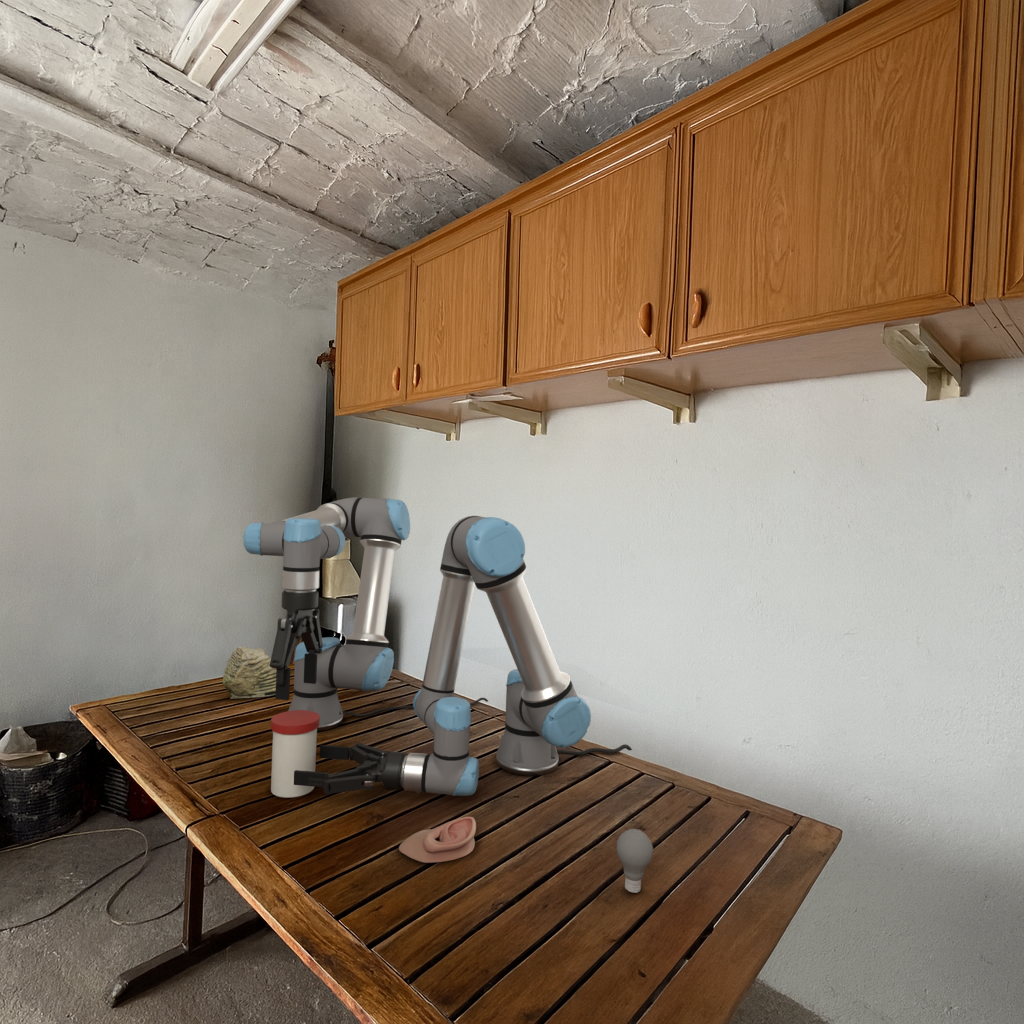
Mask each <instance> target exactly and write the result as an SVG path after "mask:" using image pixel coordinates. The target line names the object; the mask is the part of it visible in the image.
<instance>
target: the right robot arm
mask: <svg viewBox="0 0 1024 1024" xmlns="http://www.w3.org/2000/svg"><path fill="white" fill-rule="evenodd" d="M525 555H526V543H525V540H524V537H523V535H522V533H521V531H520V530H519V529H518V528H517V526H515V525H514V524H513V523H511V522H509V521H507V520H505V519H502V518H500V517H496V516H487V517H486V516H479V515H469V516H465V517H463V518H460V519H458V521H457V522H455V523H454V524H453V525H452V527H451V529H450V530H449V532H448V534H447V537H446V541H445V544H444V548H443V553H442V557H441V563H440V567H439V571H440V573H441V574H442V580H441V585H440V590H439V596H438V602H437V605H436V606H437V607H436V611H435V616H434V617H435V618H434V622H433V627H432V631H431V632H432V633H431V638H430V643H429V648H428V653H427V659H426V664H425V669H424V675H423V679H422V685H421V688H420V689H419V690H418V691H417V692H416V693H415V695H414V697H413V701H412V706H413V707H414V708H413V710H414V712H415V715H416V716H417V718H418V719H419V720H420V721H421V722H422V723H423V724H424V725H425V726H426V728H427V729H428V730H429V731H430V733H431V734H432V736H433V749H432V752H433V753H432V754H429V753H420V752H419V753H418V752H409V753H408V754H407V753H406V752H403V751H389V750H383V749H379V748H376V747H373V746H370V745H367V744H363V743H361V742H357V743H355V745H351V746H343V745H330V744H328V745H327V744H320V745H319V757H318V758H319V759H327V760H339V761H349V762H353V761H354V762H356V763H357V764H359V765H357V766H356V767H355V768H353V769H349V770H344V771H340V772H339V771H338V772H336V773H330V774H329V773H328V771H325V772H323V771H315V772H312V771H300V770H295V771H294V785H301V786H313V787H314V788H323V794H324V795H330V794H331V795H332V794H338V793H339V794H340V793H346V792H354V791H361V790H362V791H363V790H364V791H369V790H370V791H372V790H374V789H375V783H382V784H383V788H384V789H385V790H386V791H397V792H398V791H402V790H404V791H405V792H414V793H415V794H420V793H426V794H438V795H447V796H452V797H456V796H458V797H466V796H473V795H474V794H475V793H476V791H477V788H478V783H479V774H480V773H479V771H480V763H479V760H478V758H477V757H472V756H470V737H471V724H472V723H471V722H472V714H471V713H472V712H471V706H470V703H471V702H469V701H468V700H467V699H465V698H462V697H458V696H454V695H455V690H456V689H455V688H456V684H457V679H458V678H457V677H458V673H459V669H460V662H461V657H462V652H463V647H464V642H465V638H466V637H465V636H466V633H467V632H466V631H467V627H468V621H469V617H470V612H471V607H472V602H473V596H474V591H475V587H476V589H477V590H479V591H482V592H484V593H486V596H487V598H488V601H489V603H490V605H491V608H492V611H493V613H494V615H495V617H496V620H497V623H498V625H499V628H500V629H501V630H500V631H501V632H502V636H503V637H504V640H505V642H506V645H507V646H508V649H509V652H510V654H511V656H512V660H513V662H514V664H515V666H516V669H515V668H514V669H512V670H510V671H509V672H508V674H507V678H506V679H507V680H506V683H505V687H506V690H505V691H506V692H505V693H506V695H505V722H504V732H503V734H502V736H501V739H500V743H499V745H498V748H497V751H496V754H495V755H496V758H495V763H496V765H497V767H498V768H500V769H502V770H504V771H505V772H508V773H511V774H513V775H519V776H531V777H532V776H533V777H534V776H535V777H536V776H543V775H547V774H550V773H553V772H554V771H556V770H557V768H558V767H559V755H569V756H576V757H578V756H584V755H587V754H591V753H603V754H617V753H619V752H621V751H623V750H624V749H626V750H627V751H633V749H632V748H631V746H630V745H629V744H625V743H624V744H621V745H620V746H618V747H616V748H612V749H611V748H602V747H591V748H587V749H583V750H579V751H576V750H567V749H566V748H570V747H572V746H574V745H576V744H578V743H579V742H580V741H581V740H582V739H583V738H584V737H585V736H586V734H587V733H588V729H589V727H590V725H591V721H592V720H591V719H592V712H591V709H590V706H589V705H588V703H587V702H586V700H584V699H583V698H582V697H580V696H578V694H577V692H576V690H575V687H574V685H573V682H572V680H571V677H570V675H569V674H568V673H567V672H565V671H561V670H560V668H559V664H558V663H557V661H556V657H555V655H554V652H553V650H552V647H551V645H550V643H549V640H548V637H547V635H546V632H545V630H544V626H543V625H542V622H541V620H540V617H539V614H538V612H537V610H536V608H535V607H536V606H535V605H534V602H533V599H532V597H531V595H530V591H529V590H528V587H527V584H526V582H525V579H524V575H525V574H526V572H527V566H526V562H525V560H524V556H525ZM557 748H559V749H557ZM561 748H562V749H561Z"/></svg>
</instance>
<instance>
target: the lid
mask: <svg viewBox="0 0 1024 1024" xmlns="http://www.w3.org/2000/svg"><path fill="white" fill-rule="evenodd" d="M319 721H320V716H319V714H317V713H316V712H312V711H306V710H294V711H288V710H287V711H282V712H279V713H277V714H275V715H273V716H272V717H271V719H270V730H271V731H272V732H273V731H274V732H276V733H279V734H287V735H294V734H302V733H307V732H310V731H313V730H315V729H317V728H318V727H319Z"/></svg>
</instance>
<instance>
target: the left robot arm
mask: <svg viewBox="0 0 1024 1024" xmlns="http://www.w3.org/2000/svg"><path fill="white" fill-rule="evenodd" d="M410 532H411V518H410V513H409V509H408V506H407V505H406V503H405V502H404V501H403V500H401V499H395V498H389V497H388V498H379V497H378V498H376V497H375V498H374V497H356V496H355V497H354V496H353V497H348V498H347V497H346V498H343V499H338V500H333V501H331V502H330V501H329V502H326V503H324V504H321V505H319V506H318V507H317V509H316V510H311V511H309V512H305V513H302V514H299V515H295V516H291V517H288V518H285V519H282V520H281V519H280V520H277V521H273V522H263V521H261V522H251V523H250V524H248V525H247V526H246V528H245V529H244V533H243V536H242V538H243V548H244V549H245V551H246V552H247V553H248V554H251V555H257V556H261V557H263V556H270V557H271V556H273V557H283V558H282V559H283V560H282V561H283V562H282V563H283V564H282V574H281V577H282V589H283V591H282V592H281V608H282V609H283V610H286V617H285V618H277V626H276V627H277V629H276V634H275V639H274V642H273V643H274V644H273V648H272V652H271V657H270V658H271V661H270V667H271V668H276V694H275V695H274V696H275V698H274V699H275V700H279V701H280V700H282V701H288V700H290V690H291V667H289V666H290V662H291V659H292V656H293V653H295V654H294V659H293V661H294V672H293V695H292V696H293V697H292V699H291V702H290V704H289V708H288V710H287V711H294V710H306V711H312V712H316V713H317V714H319V716H320V721H319V727H318V728H317V733H318V732H325V731H329V730H332V729H335V728H337V727H339V726H340V725H342V723H343V722H344V715H349V716H353V717H359V718H361V717H366V716H367V717H368V716H371V715H374V714H376V713H379V712H385V711H391V710H400V709H401V710H402V709H414V707H413V705H397V706H389V707H382V708H379V709H375V710H373V711H372V710H371V711H369V712H365V713H355V712H352V711H351V712H350V711H345V710H343V709H342V706H341V702H340V699H339V695H338V689H342V690H343V689H345V690H352V691H353V690H356V691H362V692H368V691H369V692H379V691H381V690H382V689H383V688H384V687H385V686H386V685H387V684H388V682H389V680H390V677H391V675H392V672H393V668H394V663H395V657H394V656H395V652H394V650H393V649H392V648H390V647H389V644H390V641H389V639H387V637H386V636H385V630H386V624H387V623H386V622H387V615H388V609H389V608H388V607H389V601H390V600H389V599H390V592H391V584H392V576H393V570H394V569H393V568H394V561H395V553H396V551H398V550H399V549H400V548H401V547H402V541H405V540H408V538H409V537H410V536H409V535H410ZM346 537H352V538H354V537H355V538H360V540H359V543H360V544H361V546H362V547H363V548H364V551H363V558H362V563H361V572H360V577H359V586H358V592H357V593H358V594H357V601H356V606H355V607H356V608H355V615H354V622H353V629H352V633H351V634H350V635H348V636H347V637H346V638H345V644H341V641H340V639H339V638H338V637H334V636H331V637H330V636H327V637H326V636H325V637H323V636H322V630H321V629H322V628H321V622H320V609H318V607H319V595H320V594H319V593H320V592H319V591H318V590H317V589H319V588H320V564H321V560H325V559H331V558H333V557H336V556H338V555H340V554H341V553H342V552H343V550H344V549H345V546H346ZM300 638H301V639H302V642H299V643H298V644H297V642H298V640H299V639H300ZM296 644H297V645H296ZM294 650H295V652H294ZM481 701H484V702H486V703H488V702H489V699H487V698H486V697H480V698H478V699H476V700H475V701H473V702H469V703H470V707H471V706H474V705H476V704H478V703H480V702H481Z"/></svg>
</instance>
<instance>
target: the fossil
mask: <svg viewBox="0 0 1024 1024" xmlns="http://www.w3.org/2000/svg"><path fill="white" fill-rule="evenodd" d="M270 661H271V657H270V656H269V655H268V654H267V653H266V652H265V650H264V649H263V648H260V647H258V648H251V647H247V646H246V647H245V646H238V647H237V648H236V649H235V650H233V651H232V653H231V656H230V657H229V659H228V660H227V663H226V666H225V668H224V671H223V675H222V676H223V677H222V685H223V687H224V688H225V690H226V691H228V693H229V698H230V699H250V698H264V697H271V696H275V694H276V668H271V667H270Z"/></svg>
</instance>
